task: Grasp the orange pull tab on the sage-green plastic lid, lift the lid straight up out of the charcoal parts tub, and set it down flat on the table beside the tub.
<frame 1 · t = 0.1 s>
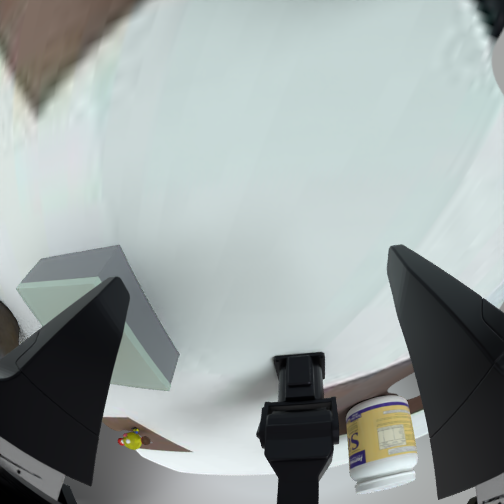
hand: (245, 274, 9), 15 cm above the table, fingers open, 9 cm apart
lid: (95, 332, 30), point 4 cm above the table, touching tub
tub: (107, 309, 33), on the table
pitcher: (3, 314, 40), on the table
toy figure: (135, 427, 63), on the table
supplement tub: (376, 406, 44), on the table
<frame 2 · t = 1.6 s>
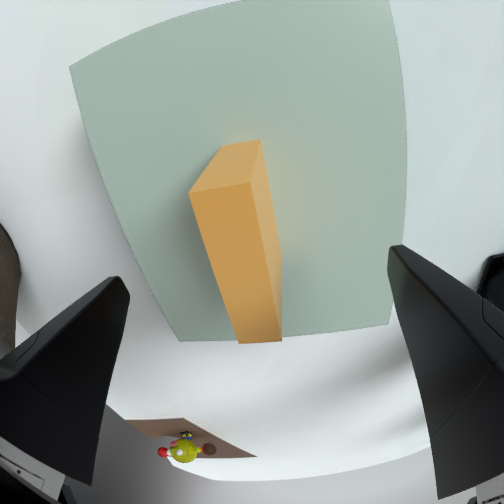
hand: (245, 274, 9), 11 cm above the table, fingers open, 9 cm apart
lid: (257, 190, 14), point 4 cm above the table, touching tub
toy figure: (186, 431, 47), on the table
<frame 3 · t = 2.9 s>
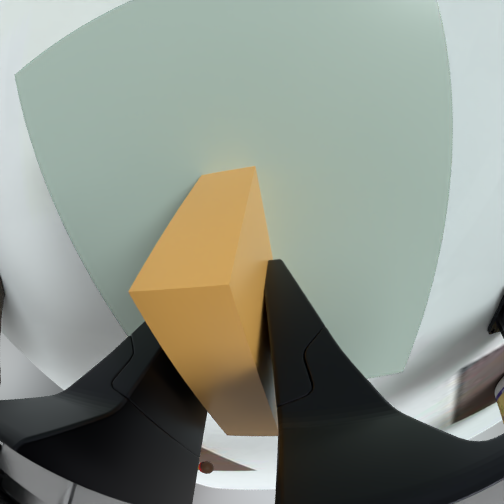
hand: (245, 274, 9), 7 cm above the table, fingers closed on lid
lid: (252, 226, 11), point 4 cm above the table, touching gripper, tub
toy figure: (183, 447, 44), on the table
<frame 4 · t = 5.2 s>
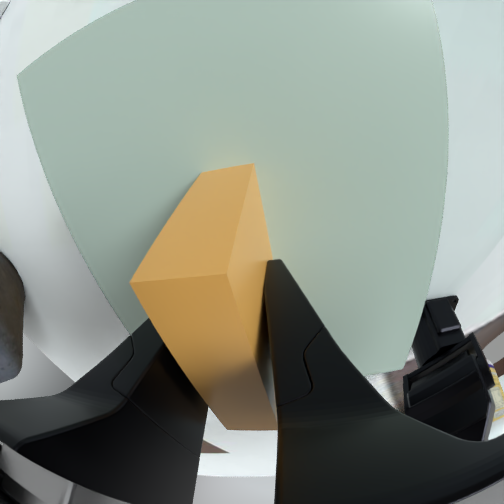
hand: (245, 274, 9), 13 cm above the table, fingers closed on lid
lid: (252, 223, 11), point 10 cm above the table, touching gripper
pitcher: (5, 276, 31), on the table
supplement tub: (461, 375, 36), on the table
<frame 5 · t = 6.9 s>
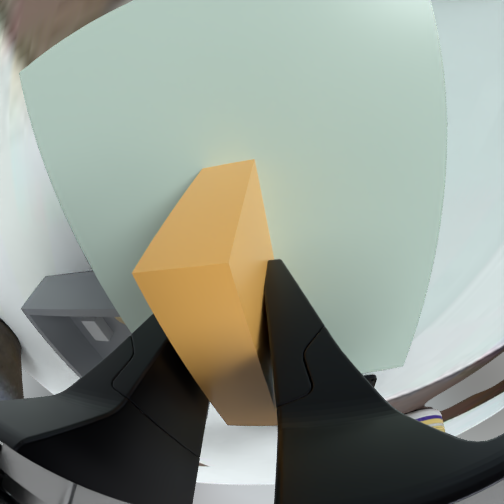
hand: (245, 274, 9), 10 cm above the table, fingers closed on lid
lid: (252, 219, 11), point 7 cm above the table, touching gripper
tub: (129, 336, 28), on the table
pitcher: (3, 331, 35), on the table
supplement tub: (409, 419, 39), on the table
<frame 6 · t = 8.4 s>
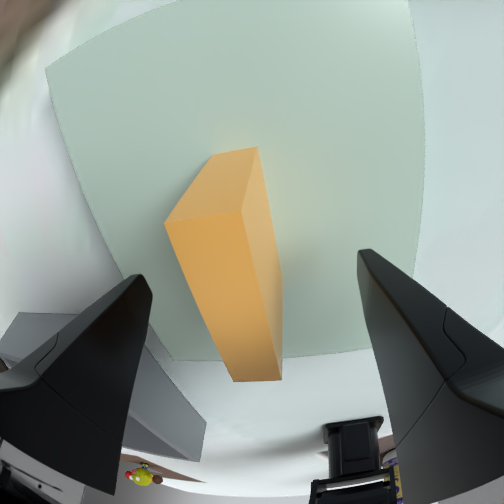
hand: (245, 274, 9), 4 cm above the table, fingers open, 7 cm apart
lid: (255, 202, 13), on the table
tub: (112, 377, 24), on the table
toy figure: (144, 462, 54), on the table
supplement tub: (414, 445, 35), on the table
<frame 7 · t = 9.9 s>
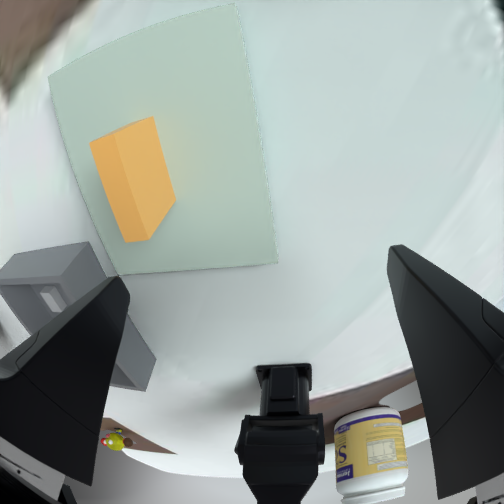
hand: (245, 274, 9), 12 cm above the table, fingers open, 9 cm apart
lid: (164, 153, 19), on the table
tub: (81, 309, 30), on the table
toy figure: (118, 428, 60), on the table
supplement tub: (366, 417, 42), on the table
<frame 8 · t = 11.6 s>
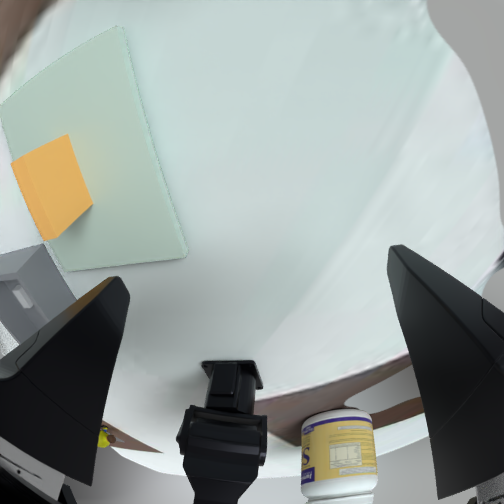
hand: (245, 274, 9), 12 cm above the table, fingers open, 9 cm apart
lid: (86, 163, 20), on the table
tub: (47, 306, 31), on the table
toy figure: (105, 426, 60), on the table
supplement tub: (336, 419, 42), on the table
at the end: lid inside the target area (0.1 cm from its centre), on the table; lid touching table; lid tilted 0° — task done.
